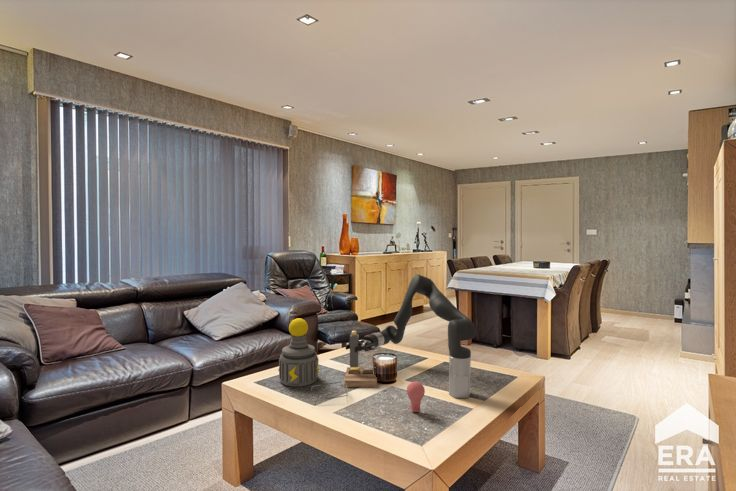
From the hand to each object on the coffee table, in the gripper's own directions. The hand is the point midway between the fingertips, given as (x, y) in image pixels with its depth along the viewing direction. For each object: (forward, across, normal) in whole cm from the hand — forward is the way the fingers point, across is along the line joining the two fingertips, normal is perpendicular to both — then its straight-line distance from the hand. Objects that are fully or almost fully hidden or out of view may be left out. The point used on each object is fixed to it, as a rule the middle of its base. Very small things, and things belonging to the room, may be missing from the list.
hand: (350, 348), depth 206 cm
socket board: (-3, +4, +15) cm, 16 cm away
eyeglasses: (+20, +6, +16) cm, 26 cm away
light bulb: (+8, +44, +15) cm, 47 cm away
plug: (-2, 0, +9) cm, 9 cm away
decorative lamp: (+17, -18, +15) cm, 29 cm away
